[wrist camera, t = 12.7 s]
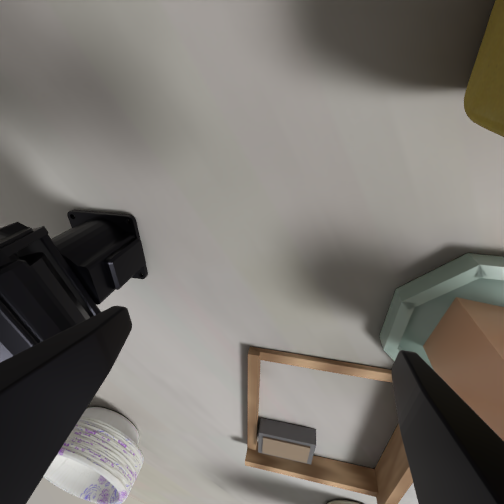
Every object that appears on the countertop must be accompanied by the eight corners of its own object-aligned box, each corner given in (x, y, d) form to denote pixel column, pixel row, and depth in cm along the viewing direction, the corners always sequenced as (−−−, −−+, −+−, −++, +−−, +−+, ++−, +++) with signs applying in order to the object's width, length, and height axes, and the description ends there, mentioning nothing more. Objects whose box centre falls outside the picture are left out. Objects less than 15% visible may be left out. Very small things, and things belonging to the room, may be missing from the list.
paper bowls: (79, 381, 39) (30, 439, 32) (167, 428, 41) (139, 493, 34) (62, 418, 47) (20, 472, 40) (137, 456, 48) (109, 514, 42)
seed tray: (260, 437, 37) (257, 454, 35) (261, 417, 34) (258, 434, 32) (310, 449, 35) (311, 466, 34) (315, 429, 33) (316, 446, 31)
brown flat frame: (248, 444, 38) (242, 478, 35) (249, 346, 28) (241, 379, 25) (381, 475, 35) (389, 515, 32) (437, 377, 25) (457, 420, 22)
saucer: (369, 363, 26) (373, 377, 24) (410, 247, 19) (417, 258, 18) (520, 388, 24) (533, 405, 22) (622, 267, 17) (649, 281, 16)
